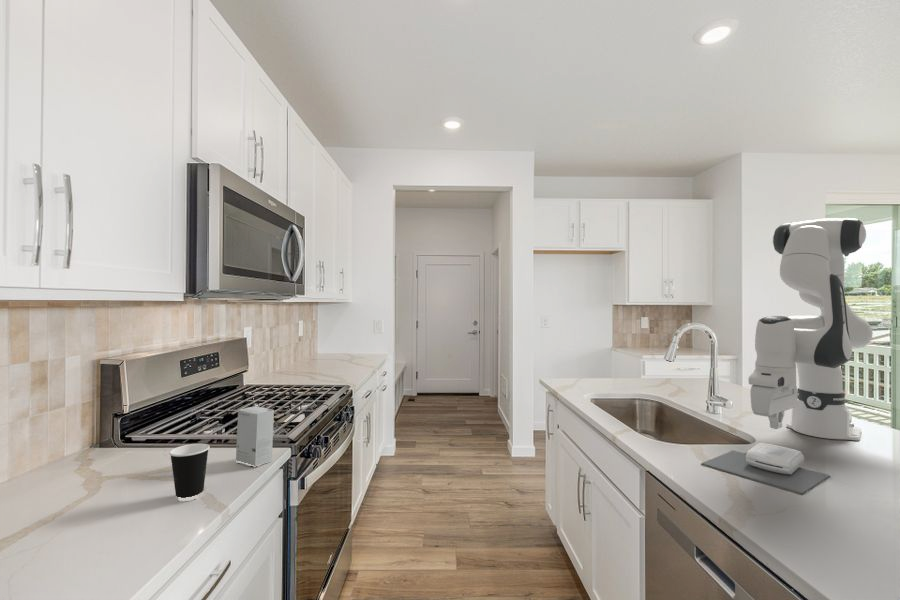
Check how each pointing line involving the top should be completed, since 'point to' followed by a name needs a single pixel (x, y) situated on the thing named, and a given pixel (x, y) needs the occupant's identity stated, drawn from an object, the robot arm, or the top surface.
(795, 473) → the mat
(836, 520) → the top surface
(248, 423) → the skincare box
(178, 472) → the dixie cup
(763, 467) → the photo printer
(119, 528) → the top surface
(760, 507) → the top surface
